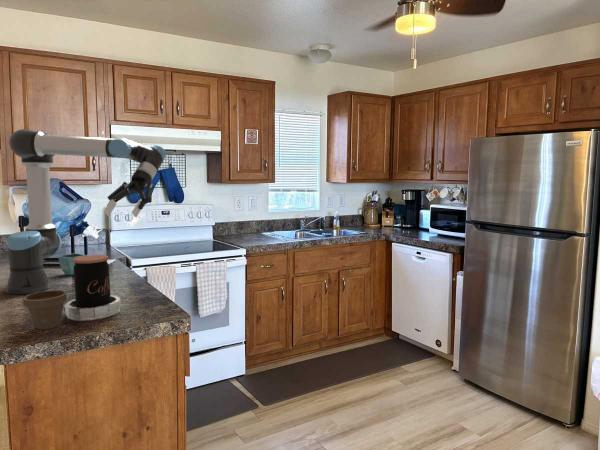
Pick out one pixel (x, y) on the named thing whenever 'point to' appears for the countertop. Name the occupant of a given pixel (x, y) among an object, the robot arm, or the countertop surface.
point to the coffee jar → (91, 281)
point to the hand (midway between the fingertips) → (119, 214)
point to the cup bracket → (92, 310)
